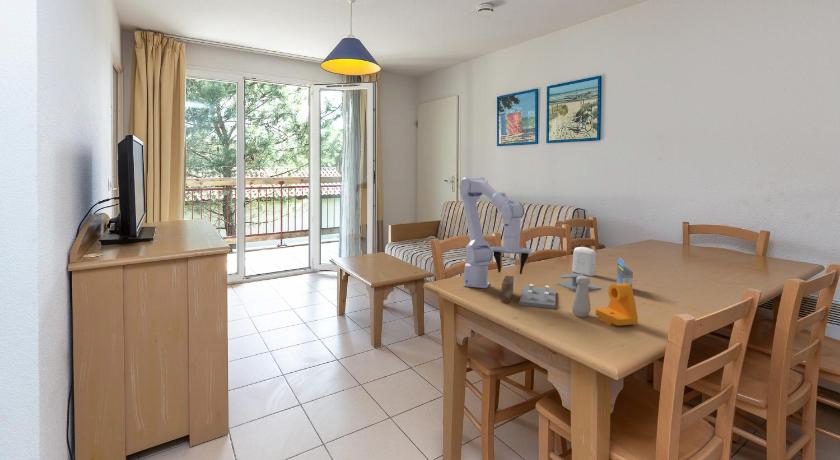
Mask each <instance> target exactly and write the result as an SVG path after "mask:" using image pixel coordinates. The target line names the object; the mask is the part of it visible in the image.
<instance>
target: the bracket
mask: <svg viewBox="0 0 840 460" xmlns="http://www.w3.org/2000/svg"><path fill="white" fill-rule="evenodd" d="M608 296H609V298H610V301H609V303H608V306H607V307H597V308H595V315H596V316H598V318H599V320H601V321H603V322H605V323H606V324H608V325H610V326H629V325H638V322H639V319H638V318H639V317H638V312H637V306H636V301H635V300H636V299H635V295H634V290H633V286H632V287H631V286H630V285H629V284H627V283H624V284H617V283H612V284H611V285H609V287H608Z"/></svg>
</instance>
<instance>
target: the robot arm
mask: <svg viewBox="0 0 840 460" xmlns="http://www.w3.org/2000/svg"><path fill="white" fill-rule="evenodd" d="M458 187H459V191H460V192H459V193H460V198H461V200H462V204H463V210H464V215H465V220H466V227H467V230H468V235H469V243H468V244H467V245H466V246H465V250H466V253H465V258H466V261H467V262H466V263H465V265H464V270H463V287H467V288H468V287H469V288H470V287H471V288H482V289H487V288H488V287H489V286H490V283H491V282H489V281H488V277H489V265H490V263H491V261H492V260H493V257H494V260H495V263H496V266H497V271H498V273H501V271H502V264H501V263H502V262H501V261H502V254H512V255H513V254H514V255H515V254H516V255H520V268H519V275H522V274H523V270H524V267H525V264H526V262H527V260H528V258H529V256H532V251H533V250H532V248H525V247H520V239H521V237H520V236H521V235H520V234H521V221H522V220H521V219H522V218H524V216H525V207H524V205H523V204H522V203H521V202H515V201H514V200H513V199H512V198H510V197H509V196H508V195H506V192H504V191H503V192H497V191H496V189H494V188H493V187H492V186H491V185H490V184H489V181H488V180H487V179H486V178H485V177H483V176H482V177H463V178H462V179H461V181H460V183H459V185H458ZM482 196H485V197H487V198H488V199H490V200H491V204H492V206H494V207H495V208H496V210H498V211H499V212H500V214H501V217H502V224H503V239H502V240H503V243H502V244H503V246H490V243H489V242H488V241H487V240H485V239H484V235H483V230H482V225H481V221H480V220H481V219H480V215H479V209H478V206H477V205H478V204H477V202H478V200H480V198H481V197H482Z"/></svg>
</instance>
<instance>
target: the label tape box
mask: <svg viewBox="0 0 840 460" xmlns="http://www.w3.org/2000/svg"><path fill="white" fill-rule="evenodd" d="M616 273H617V274H616V275H617V276H616V284H624V283H627V284H629V285H630V286H631V287H632V288H633V281H634V280H633V278H634V277H633V276H634V272H633V271H632V270H631V269H630V268H628V267H627V266H625V261H624V260H623V259H622V258H621V257H618V260H617V271H616Z"/></svg>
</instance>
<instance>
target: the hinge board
mask: <svg viewBox="0 0 840 460" xmlns="http://www.w3.org/2000/svg"><path fill="white" fill-rule="evenodd" d="M556 294H557V293H556V289H555V288H554V289H552V288H550V285H545V287H543V288H541V287H534V284H533V283H529V286H523V288H522V291H521V295H520V299H519V306H525V307H526V306H527V307H534V308H536V307H537V308H546V309H556V297H557V296H556Z"/></svg>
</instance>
